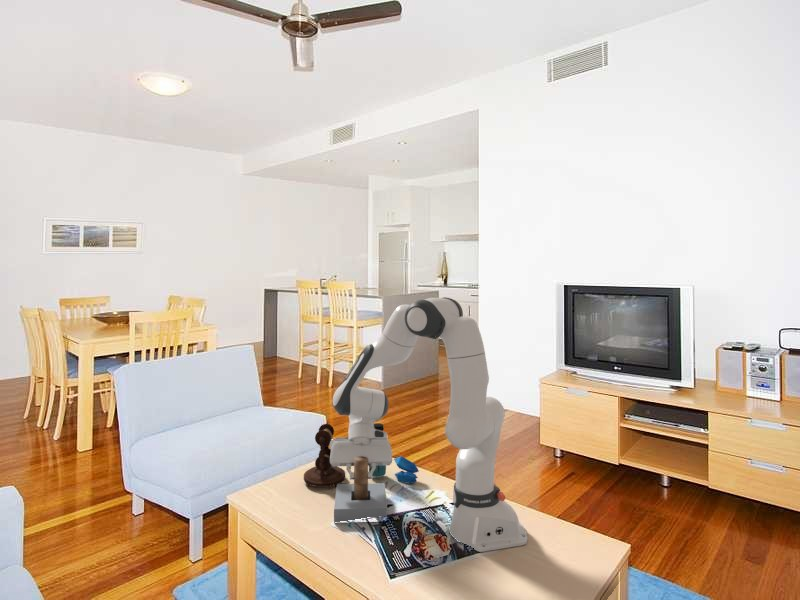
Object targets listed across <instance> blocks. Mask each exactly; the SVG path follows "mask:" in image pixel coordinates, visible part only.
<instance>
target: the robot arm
mask: <svg viewBox="0 0 800 600" xmlns="http://www.w3.org/2000/svg"><path fill="white" fill-rule="evenodd" d="M481 334H482V333H481V332H480V328H479V326H478V323H477V322H476V320H475V319H473V318H471V317H469V316H464V312H463V308H462V305H461V304H460V303H459V302H458V301H457V300H456V299H453V298H450V297H446V296H445V297H429V298H425V299H418V300H416V301H414V302H412V303H411V304H407V303H406V304H400V305H398V306H397V307H396V308H395V309H394V310H393V312H392V314H391V315H390V317H389V319H388V320H387V322H386V324H385V326H384V328H383V331H382V333H381V335H380V336H379V337H378V338H377V339H376V340H375V341H374V342H373V343H371V344H368V345H365V347H364V348H363V350H362V351H361V352H360V354H359V356H358V357H357V358H356V360H355V361H354V363H353V365H352V366H351V368H350V370H349V371H348V373H347V374H346V376H345V378H344V379H343V380H342V382H341V383H340V384H339V385H338V386H337V388H336V389H335V391H334V392H333V396H332V402H331V403H332V406H333V409H334V410H335V411H336V413H337V414H338V415H339V416H348V420H349V424H348V429H347V431H348V434H347V436H345V437H343V436H342V437H334V438H333V439H332V440H331V441H330V444H329V449H331V454H330V464H331V465H332V466H337V467H346V470H347V473H348V475H349V480H354V471H352V467H354V459H355V458H356V457H359V456H364V457H367V458H368V467H369V466H371V469H372V470H371V471H370V472H369V471H368V480H373V476H372V474H373V472H374V471H375V469H376V466H379V465H386V466H390V465H392V463H393V452H392V450H393V449H392V446H391V443H390V441H389V440H388V439H389V437H388V433H387V432H386V431H385V430H383V431H380V430H377V429H374V424H375V423H376V422H378V421H380V419H382V418H384V417H385V416H386V415H387V414H388V413H389V412H388V411H389V399H388V396H387V394H386V393H385V392H384V391H382V390H381V389H380V390H379V389H375V388H367V387H364V386H363V387H362V386H360V384H361V383H362V381H363V379H364V377H366V374H367V373H368V372H370V371H371V370H372V369H375V368H379V367H387V366H395V365H399V364H402V363H403V362H405V361H407V360H408V359H409V357H411V355H412V354H413V353H412V352H413V351H414V349H415V347H416V344H417V342H418V339H419V337H423V338H428V339H432V340H437V339H438V338H439V339H441V341H443V345H444V347H445V353H446V355H445V356H446V361H447V368H448V373H449V380H450V399H449V408H448V409H449V410H448V417H447V420H446V423H445V427H444V432H445V433H444V434H445V436H446V439H447V440H448V442H449V443H450V444H451V445H452V446H453V447H455V448H456V449H459V451H458V453H457V454H456V455H457V456H456V458H455V481H454V484H453V491H452V492H453V496H452V498H453V499H452V500H453V501H452V502H453V511H452V516H451V522H450V524H449V527H450V532H451V534H452V535H453V536H454V538H456V539H457V540H458V541H460V542H462V543H464V544H467V545H469V546H468V547H470V546H471V547H470V548H471V549H473V548H474V549H473V550H475V551H477V552H480V553H484V552H489V551H495V550H502V549H507V548H513V547H514V548H515V547H520V546H525V545H527V543H528V541H529V540H528V534H527V531H526V529H525V527H524V525H523V524H522V523H521V522H520V521H519V517H518V515H517V513H516V510H515V509H514V508H513V507H512V506H511V505H510V504H509V503H508V502H506V501H505V500H506V499H507V498H506V495H505V493H504V492H503V491H501V489H500V487H498V486H497V485H496V484H495V466H496V465H495V464H496V456H497V454H498V453H497V452H498V448H499V442H500V436H501V430H502V426H503V423H504V419H505V416H506V415H505V414H506V413H505V409H504V405H503V404H502V403H501V402H500V401H499V400H498V399H496V398H494V397H492V396H487V392H488V386H489V381H490V375H489V370H488V364H487V363H488V362H487V358H486V351H485V345H484V342H483V337H482V335H481ZM458 541H457V542H458ZM462 543H461V544H462ZM464 544H463V545H464ZM467 545H466V546H467Z"/></svg>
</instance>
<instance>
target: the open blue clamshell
mask: <svg viewBox="0 0 800 600" xmlns="http://www.w3.org/2000/svg"><path fill="white" fill-rule="evenodd" d="M393 460H394V462H395V464H396V466H397V467H398V468H399V469H400V470H401V471H399V472H396V473H394V477H395V478H396V479H397V481H398V482H402V483H406V484H413V483H416V482H417V479H418V476H417V475H416V473H419V472H420V471H419V468H418V466H417V465H416V464H415V463H414V462H412V460H411V461H410V460H409V459H407V458H406V457H404V456H399V457H396V458H393Z"/></svg>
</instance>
